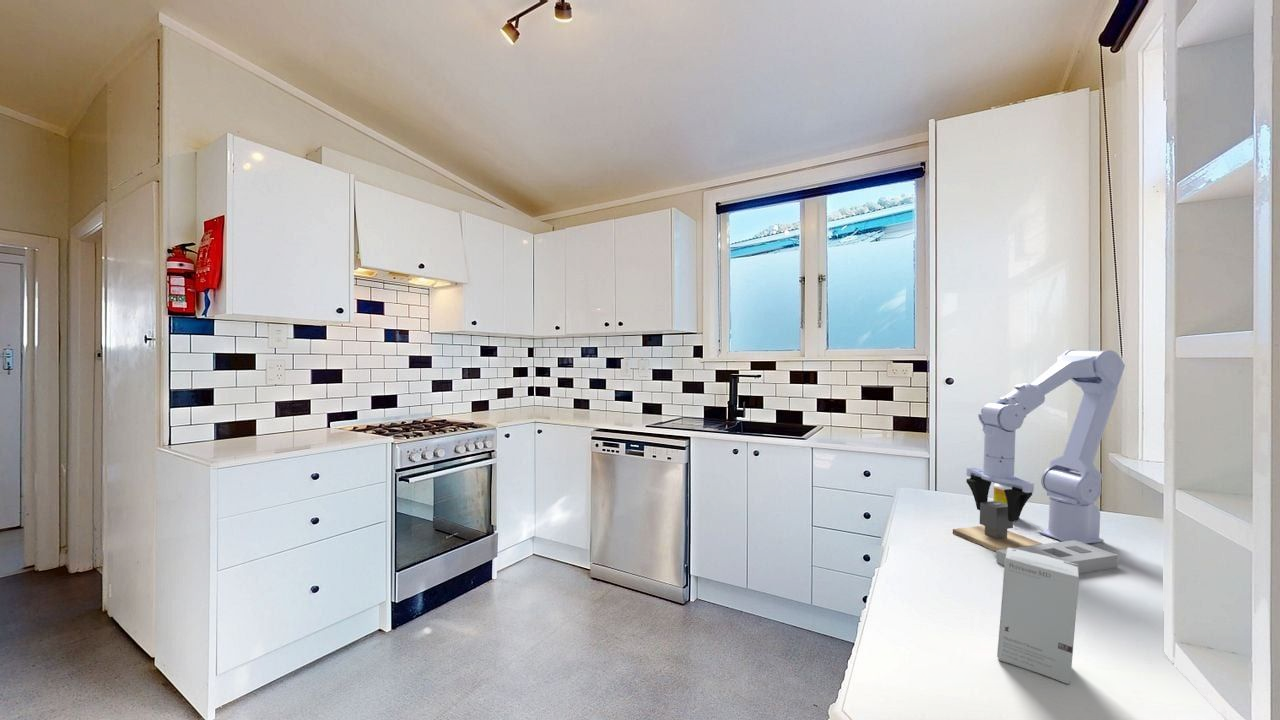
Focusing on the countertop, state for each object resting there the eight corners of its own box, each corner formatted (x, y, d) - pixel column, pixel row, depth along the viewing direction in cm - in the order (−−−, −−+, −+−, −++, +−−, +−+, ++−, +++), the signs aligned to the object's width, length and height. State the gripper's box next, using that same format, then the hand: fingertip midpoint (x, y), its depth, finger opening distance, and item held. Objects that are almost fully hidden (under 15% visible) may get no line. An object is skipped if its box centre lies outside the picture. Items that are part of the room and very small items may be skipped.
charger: (995, 532, 118) (996, 500, 118) (1012, 538, 114) (1013, 505, 114) (979, 534, 117) (980, 502, 116) (995, 540, 113) (996, 507, 113)
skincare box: (996, 660, 71) (1000, 557, 71) (1001, 641, 76) (1004, 544, 76) (1075, 687, 66) (1079, 575, 65) (1074, 665, 71) (1078, 560, 70)
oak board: (991, 528, 123) (991, 524, 123) (1042, 548, 111) (1042, 543, 111) (952, 533, 120) (952, 529, 120) (1000, 553, 108) (1001, 549, 108)
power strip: (1074, 551, 110) (1074, 537, 110) (1117, 567, 102) (1118, 552, 102) (996, 562, 104) (996, 547, 104) (1036, 579, 96) (1036, 563, 96)
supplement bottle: (1013, 521, 128) (1015, 481, 128) (989, 515, 133) (990, 476, 132) (1022, 517, 131) (1024, 478, 131) (998, 511, 136) (999, 474, 135)
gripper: (957, 450, 121) (955, 506, 121) (1017, 464, 107) (1014, 527, 107) (980, 448, 123) (978, 504, 123) (1042, 462, 109) (1039, 524, 109)
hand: (996, 515), depth 115 cm, fingers open, 7 cm apart
